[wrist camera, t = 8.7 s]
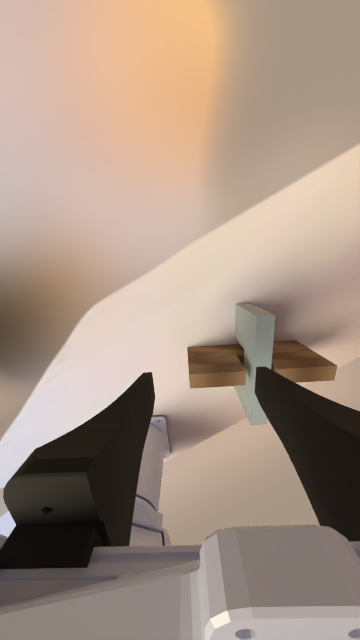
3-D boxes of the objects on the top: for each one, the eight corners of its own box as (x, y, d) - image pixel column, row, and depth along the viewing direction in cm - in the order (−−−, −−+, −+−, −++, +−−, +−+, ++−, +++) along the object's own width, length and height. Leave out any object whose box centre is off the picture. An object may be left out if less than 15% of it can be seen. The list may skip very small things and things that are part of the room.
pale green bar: (234, 387, 24) (251, 424, 18) (236, 303, 20) (257, 316, 15) (245, 386, 24) (266, 424, 18) (249, 302, 20) (275, 315, 15)
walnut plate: (188, 358, 23) (190, 388, 17) (187, 347, 22) (189, 374, 16) (294, 351, 22) (334, 380, 16) (296, 340, 22) (337, 365, 16)
